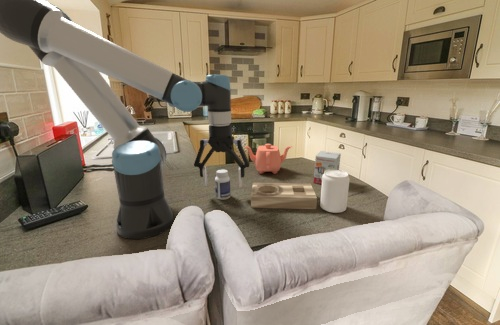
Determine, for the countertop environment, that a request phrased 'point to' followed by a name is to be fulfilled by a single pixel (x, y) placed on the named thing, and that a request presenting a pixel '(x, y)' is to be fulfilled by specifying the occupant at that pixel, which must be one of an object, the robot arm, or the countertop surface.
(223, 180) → the pill bottle
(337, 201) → the beverage can
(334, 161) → the ink box
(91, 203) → the countertop surface
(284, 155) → the teapot
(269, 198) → the socket block
